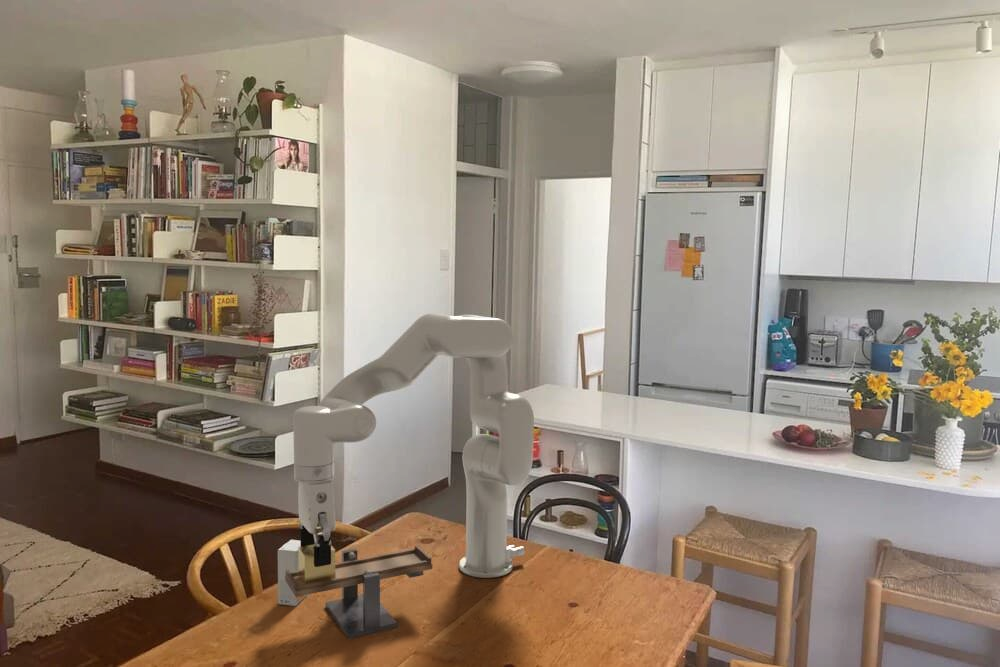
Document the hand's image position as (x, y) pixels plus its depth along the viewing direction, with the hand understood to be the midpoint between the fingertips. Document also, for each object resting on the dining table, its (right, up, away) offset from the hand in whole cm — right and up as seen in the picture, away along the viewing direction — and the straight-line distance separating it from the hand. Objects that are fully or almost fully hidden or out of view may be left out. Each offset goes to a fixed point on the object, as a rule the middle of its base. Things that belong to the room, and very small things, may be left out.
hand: (315, 556), depth 152 cm
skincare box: (-8, -13, +13) cm, 20 cm away
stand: (+8, -14, +6) cm, 17 cm away
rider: (0, -5, +1) cm, 5 cm away
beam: (+8, -7, +5) cm, 11 cm away
